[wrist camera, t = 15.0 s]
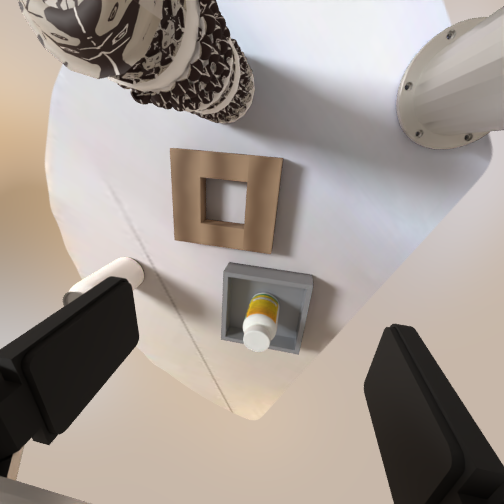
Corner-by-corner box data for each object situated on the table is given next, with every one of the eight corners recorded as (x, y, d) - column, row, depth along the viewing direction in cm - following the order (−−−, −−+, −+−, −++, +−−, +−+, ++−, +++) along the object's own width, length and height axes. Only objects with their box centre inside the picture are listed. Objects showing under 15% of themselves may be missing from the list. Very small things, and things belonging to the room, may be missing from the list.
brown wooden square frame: (283, 158, 34) (282, 158, 32) (272, 248, 40) (270, 253, 38) (177, 148, 37) (169, 148, 34) (181, 235, 42) (174, 240, 40)
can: (108, 263, 47) (51, 297, 36) (131, 250, 45) (79, 282, 34) (128, 289, 49) (80, 329, 38) (151, 278, 47) (107, 317, 36)
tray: (312, 274, 41) (313, 285, 37) (298, 340, 46) (298, 354, 43) (229, 262, 43) (223, 271, 39) (226, 326, 48) (221, 339, 45)
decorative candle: (270, 67, 31) (192, -165, 8) (239, 139, 35) (126, 118, 12) (207, 30, 30) (-62, -325, 8) (182, 106, 34) (-45, 21, 12)
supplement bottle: (281, 315, 44) (277, 356, 36) (253, 317, 45) (242, 356, 37) (277, 290, 42) (271, 326, 34) (247, 292, 44) (234, 328, 35)
